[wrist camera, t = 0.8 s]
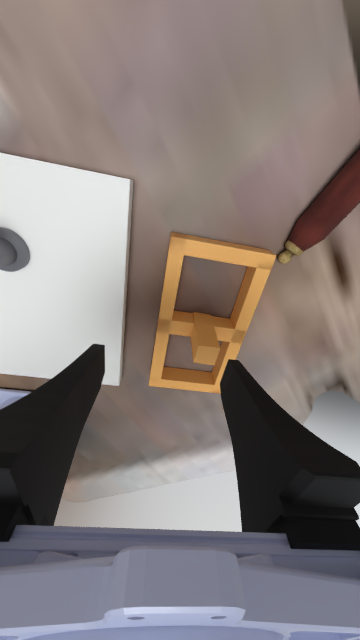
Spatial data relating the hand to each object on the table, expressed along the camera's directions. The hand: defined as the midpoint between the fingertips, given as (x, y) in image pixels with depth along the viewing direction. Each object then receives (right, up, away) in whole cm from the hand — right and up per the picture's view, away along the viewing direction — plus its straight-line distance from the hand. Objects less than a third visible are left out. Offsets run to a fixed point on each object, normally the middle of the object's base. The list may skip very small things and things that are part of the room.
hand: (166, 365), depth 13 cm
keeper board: (-13, +6, +7) cm, 16 cm away
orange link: (+3, +3, +10) cm, 10 cm away
